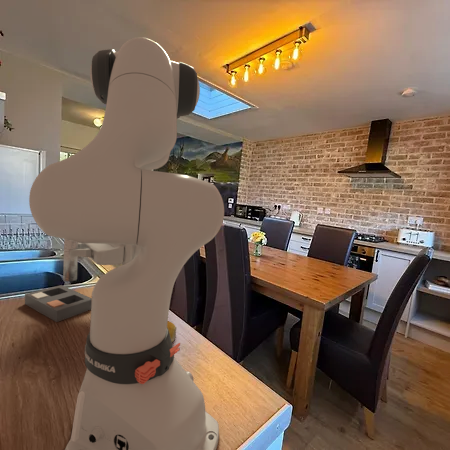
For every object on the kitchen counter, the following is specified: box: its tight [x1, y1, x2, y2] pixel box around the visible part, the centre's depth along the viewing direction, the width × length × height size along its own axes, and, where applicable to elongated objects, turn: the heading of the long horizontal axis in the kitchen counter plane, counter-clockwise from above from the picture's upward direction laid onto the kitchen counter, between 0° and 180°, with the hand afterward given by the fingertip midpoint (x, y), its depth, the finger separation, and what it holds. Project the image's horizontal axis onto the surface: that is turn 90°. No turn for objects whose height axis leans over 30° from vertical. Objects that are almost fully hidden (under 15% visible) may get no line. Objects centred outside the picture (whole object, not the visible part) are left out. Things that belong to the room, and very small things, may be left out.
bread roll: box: [167, 320, 177, 343], centre depth 64 cm, size 8×9×4 cm
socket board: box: [24, 284, 92, 323], centre depth 74 cm, size 16×10×3 cm, turn 61°
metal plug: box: [62, 239, 78, 282], centre depth 69 cm, size 4×4×14 cm
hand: (67, 250), depth 69 cm, fingers closed on metal plug, 3 cm apart
